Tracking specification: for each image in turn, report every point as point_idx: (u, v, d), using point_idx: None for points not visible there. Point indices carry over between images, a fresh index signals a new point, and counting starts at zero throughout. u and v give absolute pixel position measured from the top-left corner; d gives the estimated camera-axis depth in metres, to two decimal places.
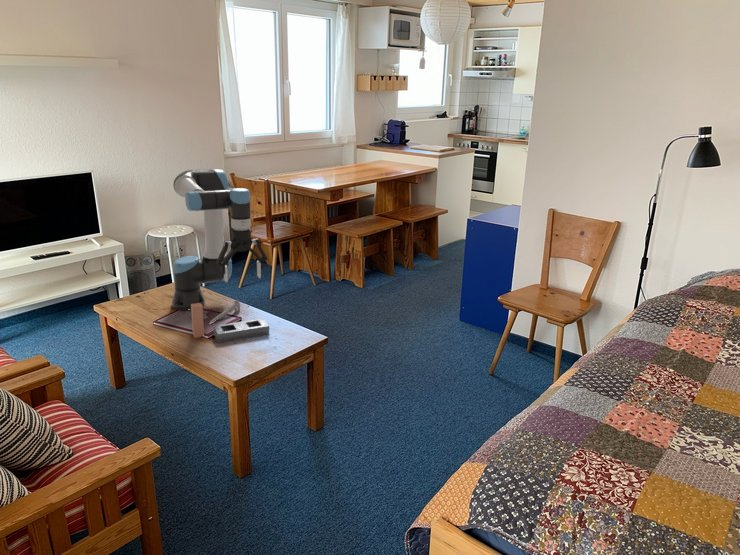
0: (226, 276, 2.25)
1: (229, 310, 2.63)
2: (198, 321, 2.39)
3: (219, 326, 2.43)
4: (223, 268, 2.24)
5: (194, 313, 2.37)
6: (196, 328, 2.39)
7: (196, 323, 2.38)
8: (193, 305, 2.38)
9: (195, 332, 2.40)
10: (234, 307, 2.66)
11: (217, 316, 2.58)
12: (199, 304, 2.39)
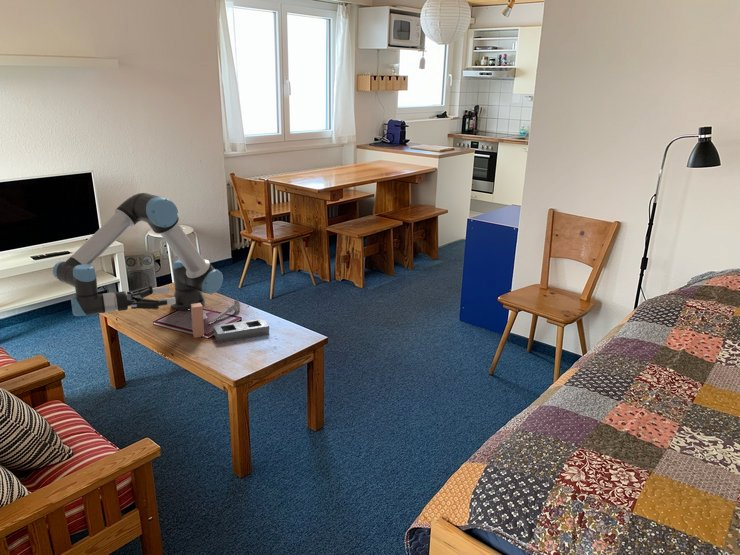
0: None
1: (229, 310, 2.63)
2: (198, 321, 2.39)
3: (219, 326, 2.43)
4: None
5: (194, 313, 2.37)
6: (196, 328, 2.39)
7: (196, 323, 2.39)
8: (193, 305, 2.38)
9: (195, 332, 2.40)
10: (234, 307, 2.66)
11: (217, 316, 2.58)
12: (199, 304, 2.39)
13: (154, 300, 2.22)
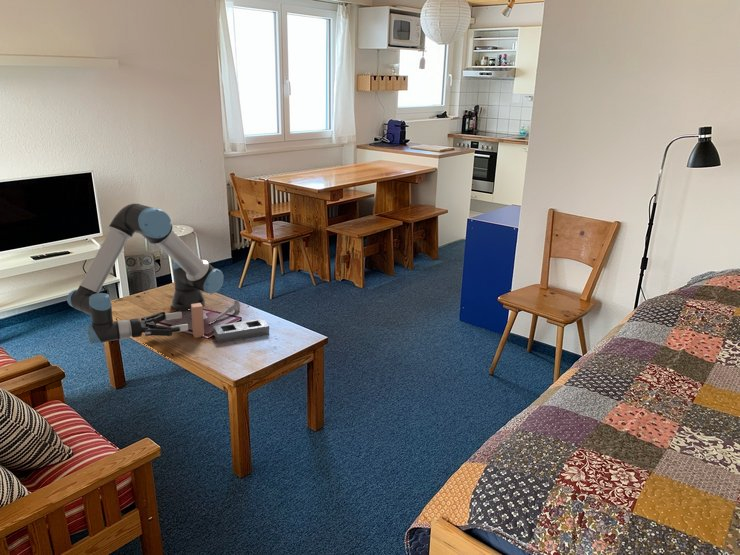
0: (176, 318, 2.43)
1: (229, 310, 2.63)
2: (198, 321, 2.39)
3: (219, 326, 2.43)
4: None
5: (194, 313, 2.37)
6: (196, 328, 2.39)
7: (196, 323, 2.39)
8: (193, 305, 2.38)
9: (195, 332, 2.40)
10: (234, 307, 2.66)
11: (217, 316, 2.58)
12: (199, 304, 2.39)
13: (167, 327, 2.28)
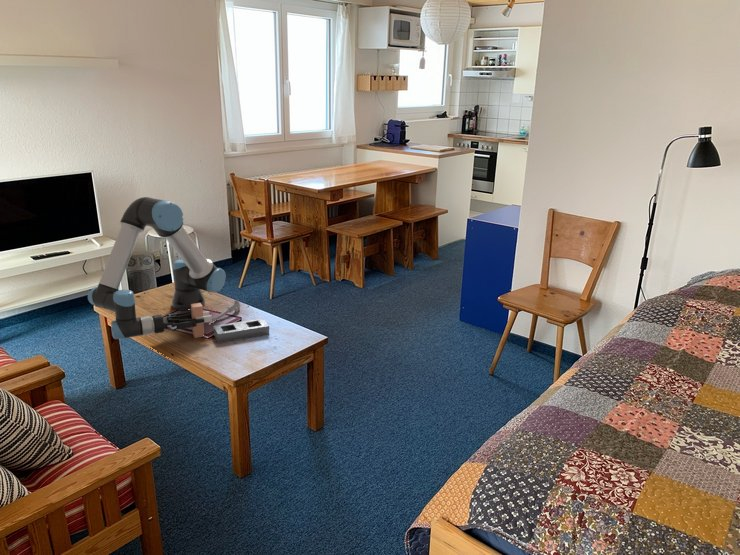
0: None
1: (229, 310, 2.63)
2: None
3: (219, 326, 2.43)
4: None
5: (194, 313, 2.37)
6: (196, 328, 2.39)
7: None
8: (193, 305, 2.38)
9: (195, 332, 2.40)
10: (234, 307, 2.66)
11: (217, 316, 2.58)
12: (199, 304, 2.39)
13: (192, 319, 2.36)
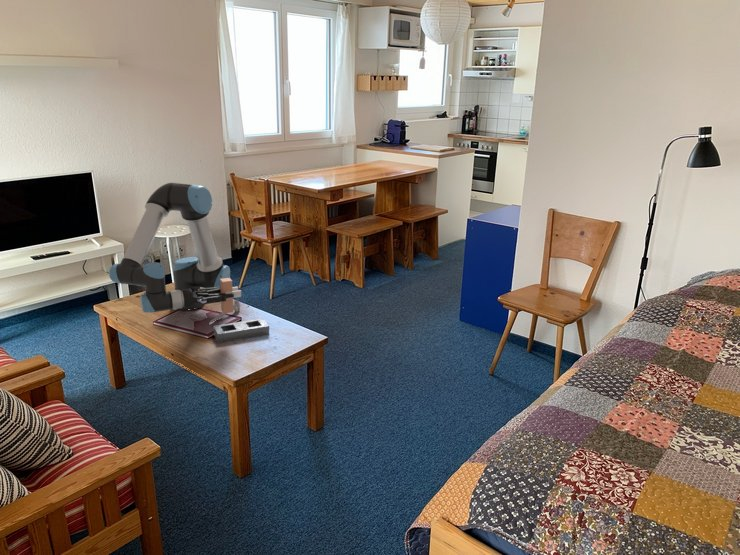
0: None
1: None
2: None
3: (219, 326, 2.43)
4: None
5: (223, 288, 2.33)
6: (225, 303, 2.35)
7: None
8: (223, 280, 2.34)
9: (224, 307, 2.36)
10: (234, 307, 2.66)
11: (217, 316, 2.58)
12: (228, 279, 2.35)
13: (221, 293, 2.32)
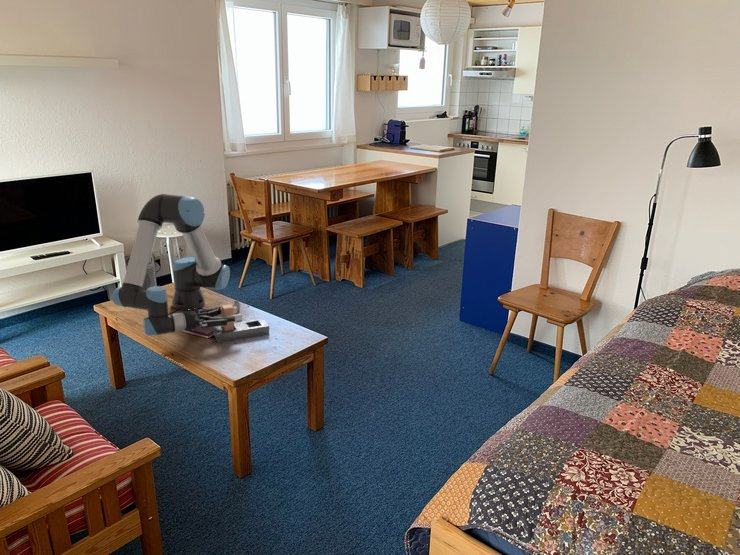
0: None
1: None
2: (229, 323, 2.39)
3: (219, 326, 2.43)
4: None
5: (225, 314, 2.37)
6: (227, 329, 2.40)
7: None
8: (224, 306, 2.38)
9: None
10: None
11: (217, 316, 2.57)
12: (230, 305, 2.39)
13: (223, 317, 2.34)
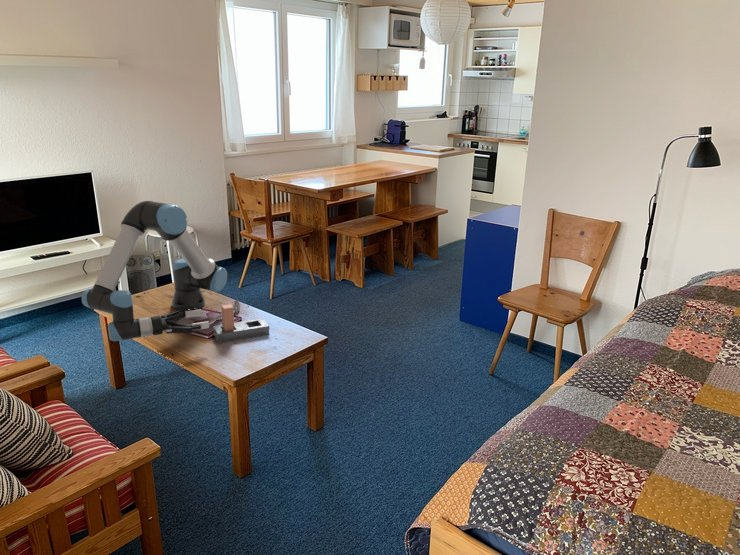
0: (195, 316, 2.40)
1: None
2: (229, 323, 2.39)
3: (219, 326, 2.43)
4: None
5: (225, 314, 2.37)
6: (227, 329, 2.40)
7: (226, 324, 2.39)
8: (224, 306, 2.38)
9: None
10: (234, 307, 2.66)
11: (217, 316, 2.57)
12: (230, 305, 2.39)
13: (188, 325, 2.26)
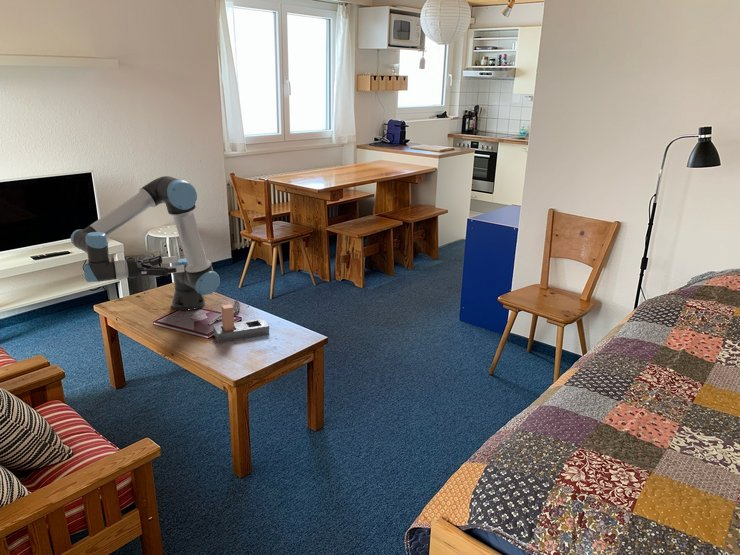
0: (172, 262, 2.44)
1: None
2: (229, 323, 2.39)
3: (219, 326, 2.43)
4: None
5: (225, 314, 2.37)
6: (227, 329, 2.40)
7: (226, 324, 2.39)
8: (224, 306, 2.38)
9: None
10: (234, 307, 2.66)
11: (217, 316, 2.57)
12: (230, 305, 2.39)
13: None
